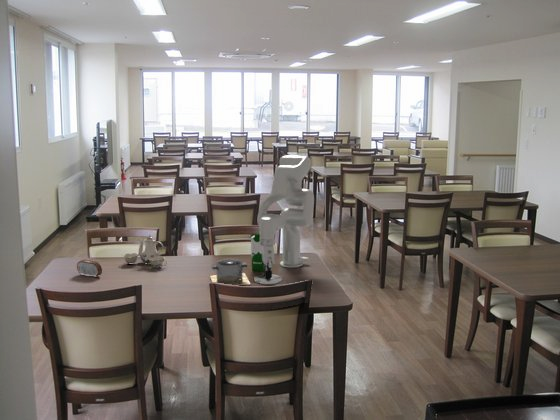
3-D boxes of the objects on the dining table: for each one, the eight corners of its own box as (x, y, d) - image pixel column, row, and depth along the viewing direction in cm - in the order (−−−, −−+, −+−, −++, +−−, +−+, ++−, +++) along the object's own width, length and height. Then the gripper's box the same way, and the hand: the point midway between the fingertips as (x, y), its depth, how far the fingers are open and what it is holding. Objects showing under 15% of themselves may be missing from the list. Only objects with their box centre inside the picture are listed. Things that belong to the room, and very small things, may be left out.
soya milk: (249, 270, 310) (249, 234, 306) (255, 265, 318) (255, 230, 314) (265, 271, 307) (264, 235, 303) (270, 267, 315) (270, 231, 312)
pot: (244, 274, 303) (244, 256, 301) (250, 285, 286) (250, 265, 284) (210, 277, 299) (209, 258, 297) (214, 288, 282) (213, 268, 280)
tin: (102, 277, 301) (101, 261, 300) (98, 278, 298) (97, 263, 297) (80, 273, 307) (79, 258, 306) (76, 275, 305) (75, 259, 303)
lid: (278, 275, 302) (278, 263, 301) (284, 283, 288) (284, 271, 287) (251, 277, 299) (251, 265, 297) (257, 285, 285) (256, 273, 284)
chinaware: (118, 268, 321) (114, 240, 317) (134, 257, 336) (131, 230, 332) (163, 273, 313) (160, 244, 308) (177, 261, 328) (175, 233, 323)
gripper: (278, 245, 283) (278, 281, 286) (271, 237, 298) (271, 271, 302) (263, 246, 281) (263, 282, 284) (256, 238, 297) (257, 272, 300)
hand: (267, 276), depth 293 cm, fingers closed on lid, 3 cm apart
